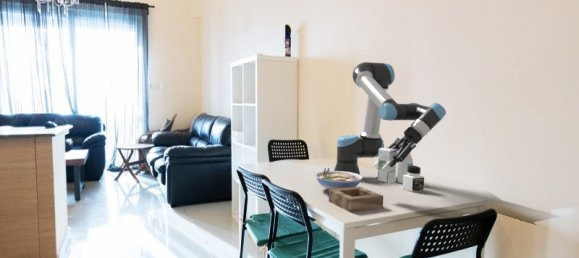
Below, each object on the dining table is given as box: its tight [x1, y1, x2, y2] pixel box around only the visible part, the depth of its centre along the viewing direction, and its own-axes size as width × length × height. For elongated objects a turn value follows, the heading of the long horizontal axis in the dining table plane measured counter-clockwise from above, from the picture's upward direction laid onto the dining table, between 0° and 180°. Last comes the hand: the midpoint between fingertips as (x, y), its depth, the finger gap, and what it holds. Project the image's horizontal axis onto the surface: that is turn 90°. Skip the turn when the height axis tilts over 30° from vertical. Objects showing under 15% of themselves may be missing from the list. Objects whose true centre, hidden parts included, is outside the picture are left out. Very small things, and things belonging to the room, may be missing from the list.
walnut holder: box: [328, 186, 384, 213], centre depth 150 cm, size 16×16×5 cm
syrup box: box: [377, 147, 398, 184], centre depth 156 cm, size 6×6×14 cm
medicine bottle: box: [402, 164, 425, 193], centre depth 177 cm, size 7×7×12 cm
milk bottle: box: [396, 152, 414, 185], centre depth 192 cm, size 8×8×20 cm
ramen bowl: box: [314, 167, 364, 191], centre depth 172 cm, size 25×23×8 cm
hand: (379, 168), depth 155 cm, fingers closed on syrup box, 7 cm apart
